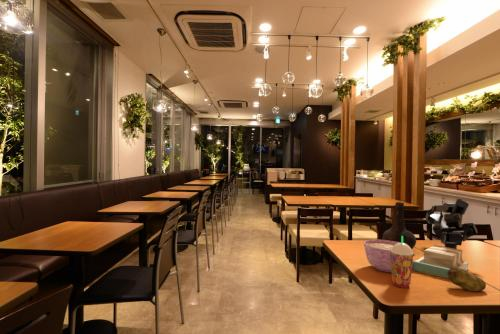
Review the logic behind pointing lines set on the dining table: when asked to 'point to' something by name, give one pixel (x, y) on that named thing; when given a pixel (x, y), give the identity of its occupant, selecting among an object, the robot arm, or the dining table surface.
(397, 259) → the smoothie
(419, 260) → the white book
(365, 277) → the dining table surface
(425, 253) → the metallic block
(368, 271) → the dining table surface
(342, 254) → the dining table surface
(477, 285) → the potato
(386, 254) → the bowl of food
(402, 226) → the glass bottle
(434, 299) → the dining table surface
